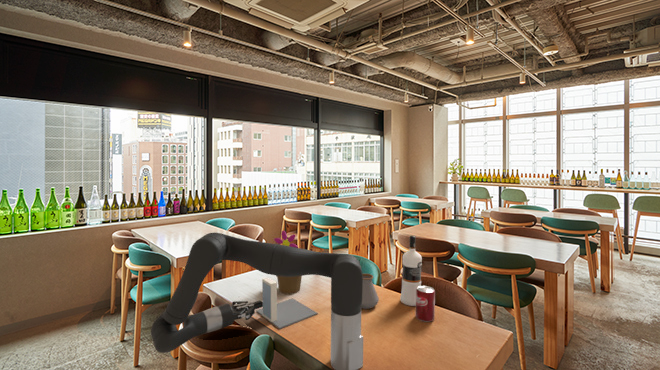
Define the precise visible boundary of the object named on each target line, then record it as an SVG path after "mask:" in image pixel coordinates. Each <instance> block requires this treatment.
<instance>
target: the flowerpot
mask: <svg viewBox="0 0 660 370" xmlns="http://www.w3.org/2000/svg"><path fill="white" fill-rule="evenodd" d="M295 239H296V234H295V233H294V234H292V235H290V236H289V237H288V235H287V232H286V231H285V230H281V238H280V237H274V238H273V240H274V242H275V244H279V245H285V246H290V247H295V248H299V246H298V245H296V243H293V241H294V240H295ZM291 242H292V243H291ZM276 278H277V288H278V291H279V292H280V294H284V295H293V294H297V293H299V292H300V291H301V287H302V284H301V283H302V278H303V276H295V277H283V276H276Z"/></svg>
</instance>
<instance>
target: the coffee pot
mask: <svg viewBox="0 0 660 370" xmlns="http://www.w3.org/2000/svg"><path fill="white" fill-rule="evenodd" d="M362 274H363V292H362V305H361V309H363V310H364V309H365V310H368V309H372V308H374V307H375V306H376V305H378V303H379V301H380V299H379V296H378V294H377V291H376V288H375V286H374V283H373V281H372V280H373V279H374V276H373V275H372V274H370V273H362Z"/></svg>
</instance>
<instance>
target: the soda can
mask: <svg viewBox="0 0 660 370" xmlns="http://www.w3.org/2000/svg"><path fill="white" fill-rule="evenodd" d="M435 304H436V291H435V289H434V287H431V286H427V285H421V286H419V287H417V288H416V306H415V317H416V319H417V320H419V321H420V322H425V323H430V322H432V321H434V320H435V308H436V305H435Z"/></svg>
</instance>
